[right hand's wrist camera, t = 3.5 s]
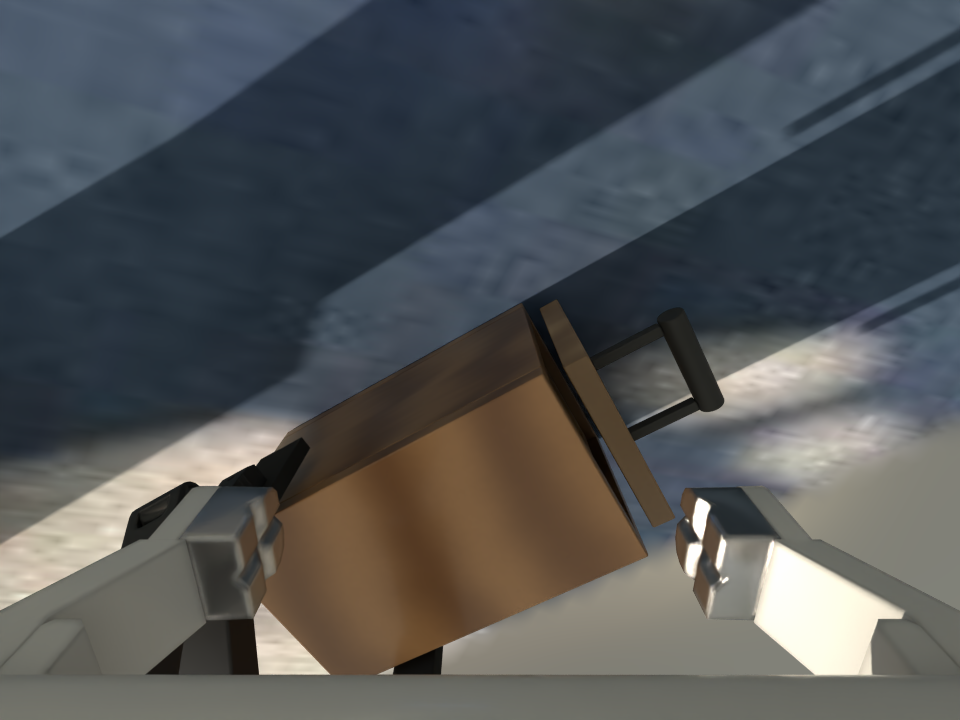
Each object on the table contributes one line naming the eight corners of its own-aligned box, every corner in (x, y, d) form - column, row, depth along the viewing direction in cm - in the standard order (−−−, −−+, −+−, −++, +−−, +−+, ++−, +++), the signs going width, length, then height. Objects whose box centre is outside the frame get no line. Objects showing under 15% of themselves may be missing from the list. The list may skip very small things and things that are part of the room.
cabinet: (521, 302, 33) (543, 374, 22) (598, 438, 36) (649, 556, 26) (287, 432, 36) (208, 549, 25) (379, 545, 40) (343, 689, 29)
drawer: (637, 254, 31) (702, 295, 22) (700, 389, 34) (779, 472, 25) (327, 424, 35) (275, 517, 26) (409, 531, 38) (389, 646, 29)
